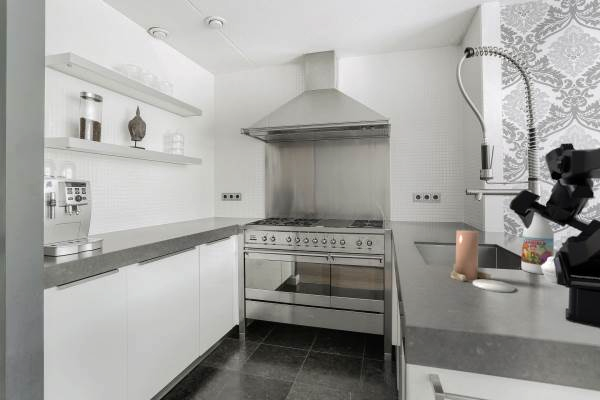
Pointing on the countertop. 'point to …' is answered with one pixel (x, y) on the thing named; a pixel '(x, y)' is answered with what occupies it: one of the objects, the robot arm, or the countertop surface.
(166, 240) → the countertop surface
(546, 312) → the countertop surface
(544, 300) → the countertop surface
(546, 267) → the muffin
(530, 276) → the countertop surface
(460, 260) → the salmon tan cylinder
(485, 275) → the wooden blocks
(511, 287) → the white disc
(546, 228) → the milk bottle
